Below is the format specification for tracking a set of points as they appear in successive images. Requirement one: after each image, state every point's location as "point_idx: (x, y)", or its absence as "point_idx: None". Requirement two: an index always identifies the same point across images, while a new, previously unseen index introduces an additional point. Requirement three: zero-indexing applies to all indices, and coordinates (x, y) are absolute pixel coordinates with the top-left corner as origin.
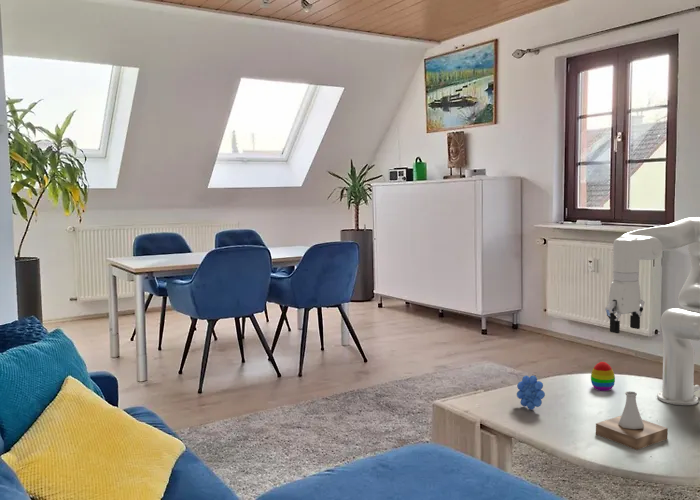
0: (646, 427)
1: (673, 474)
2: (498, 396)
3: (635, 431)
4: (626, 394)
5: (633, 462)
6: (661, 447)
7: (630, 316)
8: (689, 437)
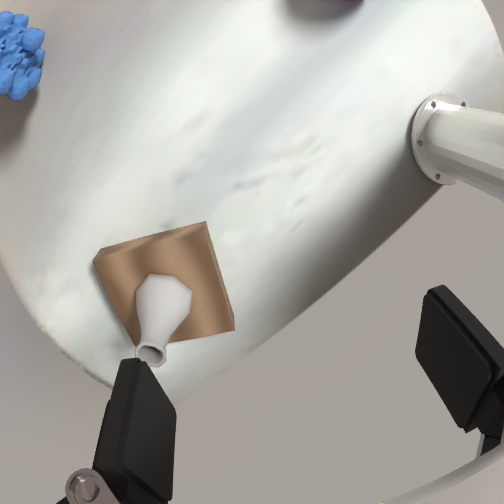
0: (192, 315)
1: None
2: None
3: None
4: (135, 352)
5: (111, 361)
6: None
7: (487, 368)
8: (281, 319)
